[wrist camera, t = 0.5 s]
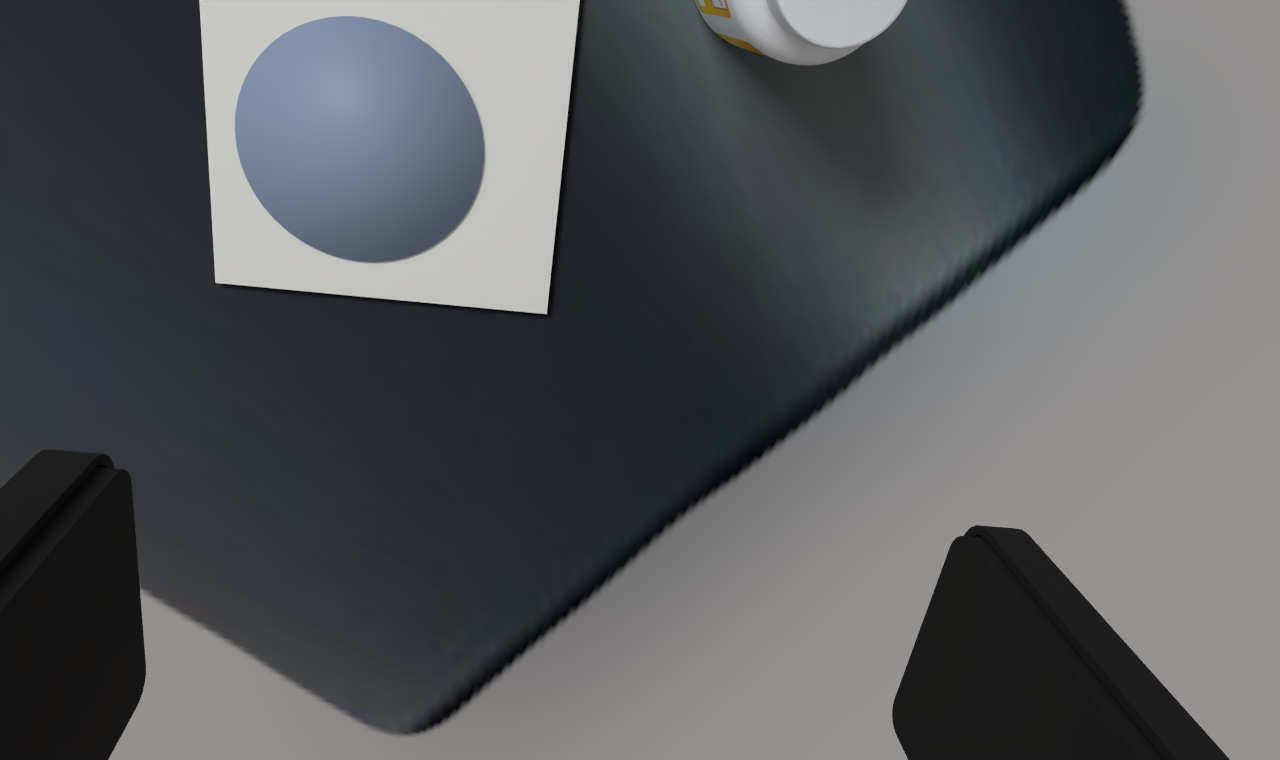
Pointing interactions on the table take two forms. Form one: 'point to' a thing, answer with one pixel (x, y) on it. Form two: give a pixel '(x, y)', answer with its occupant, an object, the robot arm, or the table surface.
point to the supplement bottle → (800, 26)
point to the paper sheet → (388, 146)
